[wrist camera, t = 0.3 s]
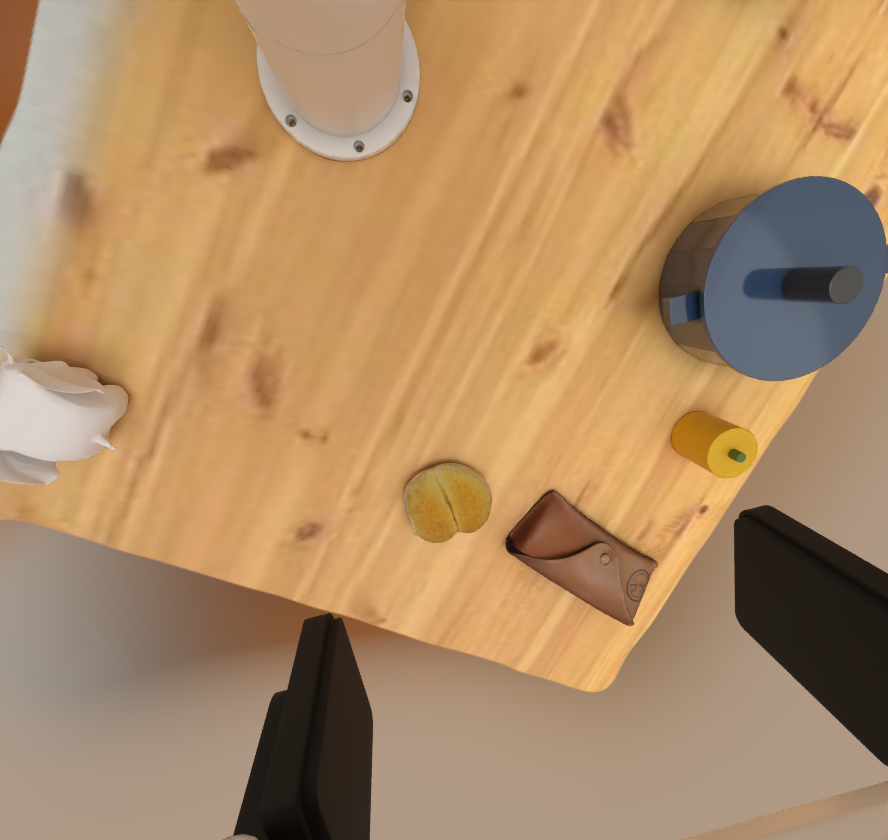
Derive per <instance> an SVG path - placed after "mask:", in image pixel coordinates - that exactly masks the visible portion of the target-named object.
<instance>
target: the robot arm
mask: <svg viewBox="0 0 888 840" xmlns="http://www.w3.org/2000/svg"><path fill="white" fill-rule="evenodd" d="M234 1H235V3H236V5H237V6H238V8H239V10H240V12H241V14H242V16H243V18H244V19H245V21H246V23H247V25H248V27H249V29H250V31H251V32H252V34H253V36H254V38H255V40H256V42H257V48H256V55H257V70H258V75H259V80H260V85H261V88H262V90H263V93H264V96H265V98H266V101H267V103H268V105H269V107H270V109H271V110H272V112H273V114H274V115H275V117H276V119H277V120H278V121H279V123H280V124H281V126H282V127H283V128H284V129H285V130H286V131H287V133H288V134H289V135H290V136H291V137H292V138H293V139H294V140H295V141H297V142H298V143H299V144H301V145H302V146H304V147H305V148H306V149H308V150H309V151H311V152H314V153H316V154H318V155H320V156H322V157H325V158H329V159H333V160H337V161H356V160H362V159H367V158H369V157H372V156H374V155H377V154H379V153H381V152H382V151H384V150H385V149H386V148H388V147H389V146H391V145H392V144H393V143H394V142H395V141H396V140H397V139H398V138H399V137H400V136H401V134H402V133H403V131H404V130H405V128H406V127H407V125H408V123H409V122H410V119H411V117H412V114H413V112H414V109H415V106H416V102H417V98H418V93H419V84H420V65H419V57H418V52H417V47H416V43H415V41H414V38H413V35H412V32H411V30H410V27H409V25H408V24H407V22H406V20H405V12H406V0H234ZM405 97H409V98H410V102H405V101H404V98H405ZM292 121H295V122H296V125H295V126H294V127H291V126H290V123H291V122H292ZM358 146H361V147H362V148H363V149H362V151H361V152H358V151H357V150H356V148H357V147H358ZM734 563H735V614H736V617H737V619H738V622H739V623H740V625H741V626H742V627H743V629H744V630H745V631H746V632H747V633H749V634H750V636H751V637H753V638H754V639H755V640H756V641H757V642H758V643H759V644H760V645H761V646H762V647H763V648H764V649H765V650H766V651H767V652H768V653H769V654H770V655H771V656H772V657H773V658H774V659H775V660H776V661H777V662H778V663H779V664H780V665H782V666H783V667H784V668H785V669H786V670H787V671H788V672H789V673H790V674H791V675H792V676H793V677H794V678H795V679H796V680H797V681H798V682H799V683H800V684H801V685H802V686H803V687H804V688H805V689H806V690H807V691H808V692H809V693H810V694H811V695H813V696H814V697H815V698H816V699H817V700H818V701H819V702H820V703H821V704H822V705H823V706H824V707H825V708H826V709H827V710H828V711H829V712H830V713H831V714H832V715H833V716H834V717H835V718H836V719H838V721H839V722H840V723H842V724H843V725H844V726H845V727H846V728H847V729H848V730H849V731H850V732H851V733H852V734H853V735H854V736H855V737H856V738H857V739H858V740H859V741H860V742H861V743H862V744H863V745H865V747H866V748H867V749H868V750H869V751H870V752H872V753H873V754H874V755H875V756H876V757H877V758H878V759H879V760H880V761H881V762H882V763H883V764H885V765H887V766H888V574H887V573H886V572H884V571H882V570H881V569H879V568H877V567H875V566H874V565H872V564H870V563H869V562H867V561H865V560H863V559H862V558H860V557H858V556H857V555H855V554H853V553H851V552H850V551H848V550H846V549H844V548H843V547H841V546H839V545H837V544H836V543H834V542H832V541H831V540H829V539H827V538H825V537H824V536H822V535H820V534H818V533H817V532H815V531H813V530H812V529H810V528H808V527H806V526H805V525H803V524H801V523H800V522H798V521H796V520H794V519H793V518H791V517H789V516H787V515H786V514H784V513H782V512H781V511H779V510H777V509H775V508H773V507H771V506H767V505H765V506H760V507H756V508H752V509H748V510H744V511H742V512H741V513H740V515H739V519H737V520H735V522H734ZM372 743H373V718H372V711H371V707H370V704H369V700H368V697H367V694H366V691H365V688H364V685H363V682H362V679H361V675H360V672H359V670H358V666H357V663H356V660H355V657H354V654H353V651H352V648H351V644H350V641H349V638H348V635H347V632H346V629H345V626H344V623H343V620H342V618H336V619H334V617H333V615H332V614H331V613H328V614H324V615H320V616H316V617H312V618H308V619H306V620H304V623H303V627H302V631H301V635H300V640H299V643H298V648H297V652H296V656H295V660H294V664H293V668H292V673H291V676H290V681H289V685H288V689H287V690H285V691H281V692H277V693H275V694H274V695H273V697H272V699H271V702H270V704H269V708H268V712H267V716H266V719H265V722H264V727H263V730H262V733H261V737H260V740H259V745H258V748H257V751H256V755H255V759H254V762H253V766H252V769H251V773H250V777H249V781H248V784H247V787H246V791H245V795H244V799H243V802H242V806H241V809H240V813H239V816H238V820H237V824H236V828H235V831H234V834H233V836H230V837H227V838H226V839H223V840H370V811H371V808H370V807H371V777H372ZM682 840H888V781H886V782H883V783H879V784H876V785H872V786H869V787H865V788H861V789H858V790H855V791H851V792H847V793H844V794H840V795H836V796H833V797H830V798H826V799H822V800H819V801H815V802H812V803H808V804H804V805H801V806H797V807H794V808H791V809H787V810H783V811H780V812H776V813H773V814H769V815H766V816H762V817H759V818H756V819H752V820H748V821H745V822H741V823H738V824H735V825H731V826H727V827H724V828H721V829H717V830H713V831H710V832H707V833H703V834H700V835H696V836H693V837H689V838H686V839H682Z"/></svg>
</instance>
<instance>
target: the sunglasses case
mask: <svg viewBox="0 0 888 840" xmlns="http://www.w3.org/2000/svg"><path fill="white" fill-rule="evenodd" d="M506 549H507V551H508V552H509V553H510V554H511V555H513V556H515V557H516V558H518V559H519V560H520V561H522V562H523V563H525V564H526V565H528V566H529V567H531V568H532V569H534V570H535V571H537V572H538V573H540V574H541V575H543V576H544V577H546V578H548V579H549V580H551V581H553V582H554V583H556V584H557V585H559V586H561V587H562V588H564V589H565V590H567V591H569V592H570V593H572V594H574V595H575V596H577V597H578V598H580V599H582V600H583V601H585V602H586V603H588V604H590V605H591V606H593V607H595V608H596V609H598V610H600V611H601V612H603V613H605V614H607V615H609V616H610V617H612V618H614V619H616V620H618V621H620V622H622V623H623V624H625V625H628V626H632V625H634V622H633V619H634V617H635V614H636V612H637V609H638V607H639V604H640V601H641V599H642V597H643V594H644V592H645V589H646V587H647V584H648V582H649V579H650V576H651V574H652V572H653V571H654V570H655V568H656V567H657V566H658V563H657V562H656V561H654V560H653V559H651V558H649V557H646V556H644V555H642V554H640V553H639V552H637V551H635V550H633V549H632V548H630V547H628V546H627V545H626V544H624V543H622V542H621V541H619V540H618V539H617V538H615V537H614V536H612V535H611V534H609V533H608V532H606V531H605V530H604V529H602V528H601V527H599V526H598V525H596V524H595V523H594V522H592V521H591V520H590V519H588V518H587V517H586V516H584V515H583V514H582V513H580V512H579V511H578V510H576V509H575V508H574V507H573V506H572V505H571V504H569V503H568V502H567V501H566V500H565V499H564V498H563V497H561V496H560V494H558V493H557V492H555V491H552V492H549V493H547V494H546V495H545V496H544V497H543V498H542V499H541V500H540V501H538V502H537V503H536V504H535V505H534V506H533V507H532V509H531V510H530V511H529V512H528V513H527V514H526V515H525V516H524V517H523V518H522V519H521V520H520V522H519V523H518V524H517V525H516V526H515V527H514V528H513V529H512V531H511V532H510V533H509V535H508V538H507V541H506Z"/></svg>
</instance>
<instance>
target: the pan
mask: <svg viewBox="0 0 888 840" xmlns="http://www.w3.org/2000/svg"><path fill="white" fill-rule="evenodd" d="M757 195H759V194H757ZM757 195H752V196H748V197H744V198H739V199H735V200H731V201H727V202H722V203H719V204H717V205H716V206H715V207H712V208H710V209H709V210H707V211H706V212H704V213H703V214H701V215H700V216H699V217H697V218H696V219H695V220H694V221H693V222H692V223H691V224H690V225H689V226H688V227H687V228H686V229H685V230H684V231H683V232H682V234H681V235H680V236H679V237H678V239H677V240H676V242H675V244H674V245H673V247H672V248H671V251H670V253H669V255H668V257H667V259H666V262H665V265H664V268H663V271H662V275H661V280H660V288H659V303H660V311H661V315H662V319H663V322H664V324H665V327H666V329H667V331H668V333H669V334H670V336H671V337H672V339H673V340H674V341H675V342H676V344H677V345H678V346H679V347H681V348H682V349H683V350H684V351H685V352H687V353H689V354H690V355H692V356H694V357H696V358H697V359H699V360H702V361H706V362H710V363H714V364H718V365H722V366H726V367H729V366H727V365H726V364H725V363H724V362H723V361H722V360H721V359H720V358H719V357H718V355H717V354H716V353H715V352H714V350H713V349H712V347H711V345H710V343H709V342H708V339H707V337H706V334H705V332H704V328H703V324H702V320H701V312H700V291H701V283H702V278H703V274H704V270H705V266H706V263H707V261H708V258H709V255H710V253H711V251H712V249H713V247H714V245H715V242H716V240H717V239H718V237H719V236H720V234H721V233H722V231H723V229H724V228H725V227H726V225H727V224H728V223H729V222H730V220H731V219H732V218H733V216H734V215H735V214H736V213H737V212H738V211H739V210H740V209H741V208H742V207H743V206H744V205H746V204H747V203H748V202H749V201H751V200H752V199H753V198H754V197H756V196H757ZM886 246H887V264H886V272H885V273H888V244H886Z"/></svg>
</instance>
